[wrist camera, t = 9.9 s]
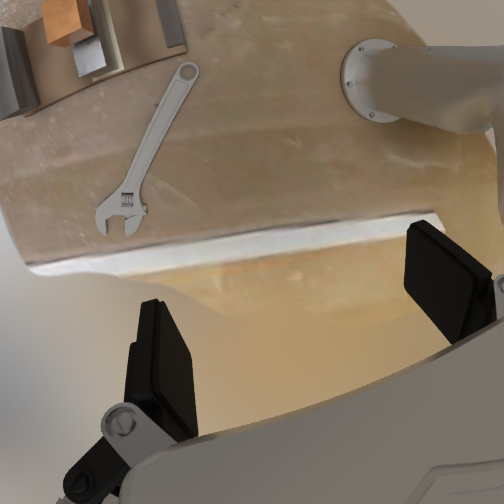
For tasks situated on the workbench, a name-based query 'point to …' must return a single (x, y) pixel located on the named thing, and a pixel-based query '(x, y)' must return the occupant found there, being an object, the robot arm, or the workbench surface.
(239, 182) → the workbench surface
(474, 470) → the robot arm
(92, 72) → the sliding jaw
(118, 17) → the bench vise
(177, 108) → the adjustable wrench
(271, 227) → the workbench surface
